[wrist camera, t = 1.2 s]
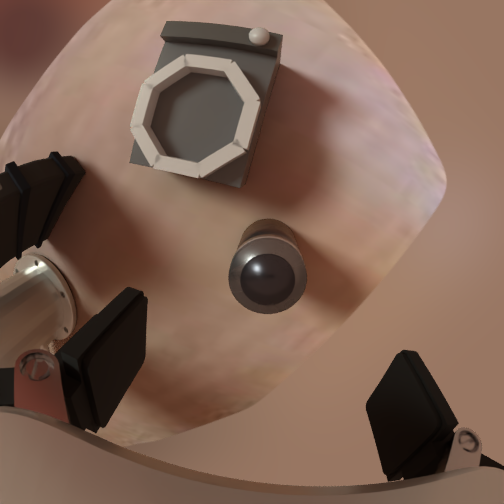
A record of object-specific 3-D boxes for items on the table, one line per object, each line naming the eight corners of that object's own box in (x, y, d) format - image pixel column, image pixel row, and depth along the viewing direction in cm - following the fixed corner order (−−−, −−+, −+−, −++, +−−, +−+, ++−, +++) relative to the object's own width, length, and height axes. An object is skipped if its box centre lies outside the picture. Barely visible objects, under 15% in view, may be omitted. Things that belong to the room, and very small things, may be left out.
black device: (96, 149, 23) (-35, 229, 11) (73, 223, 31) (-10, 292, 20) (77, 128, 22) (-50, 196, 11) (58, 204, 30) (-25, 268, 19)
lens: (286, 279, 27) (293, 323, 19) (233, 264, 27) (219, 304, 19) (303, 227, 25) (319, 254, 18) (247, 211, 25) (238, 232, 17)
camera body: (245, 184, 25) (236, 190, 18) (153, 162, 24) (118, 163, 18) (279, 63, 21) (283, 31, 14) (187, 48, 21) (164, 17, 14)
